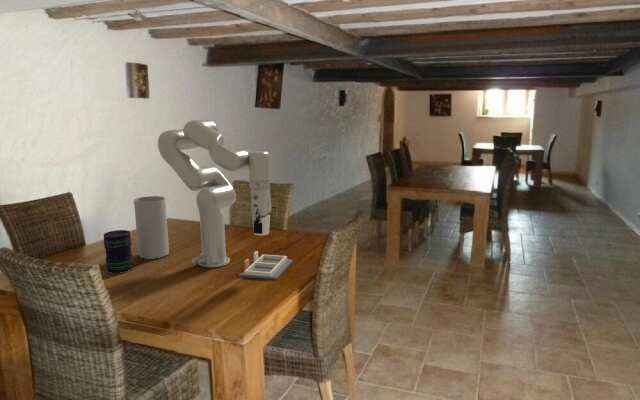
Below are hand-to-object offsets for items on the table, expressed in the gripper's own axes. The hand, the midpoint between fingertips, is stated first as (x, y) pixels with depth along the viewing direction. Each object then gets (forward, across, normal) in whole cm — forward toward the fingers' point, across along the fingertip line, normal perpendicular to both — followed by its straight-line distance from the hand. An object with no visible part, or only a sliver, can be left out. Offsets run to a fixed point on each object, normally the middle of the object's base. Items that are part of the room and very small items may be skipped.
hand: (261, 230), depth 177 cm
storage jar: (+17, -8, +57) cm, 60 cm away
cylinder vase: (+17, +11, +54) cm, 58 cm away
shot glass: (+1, 0, 0) cm, 1 cm away
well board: (+17, +5, 0) cm, 18 cm away
